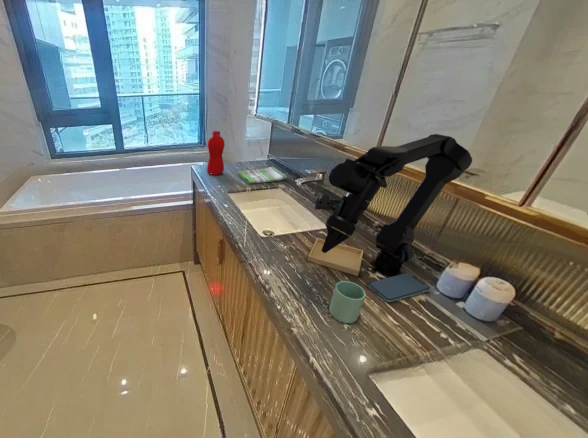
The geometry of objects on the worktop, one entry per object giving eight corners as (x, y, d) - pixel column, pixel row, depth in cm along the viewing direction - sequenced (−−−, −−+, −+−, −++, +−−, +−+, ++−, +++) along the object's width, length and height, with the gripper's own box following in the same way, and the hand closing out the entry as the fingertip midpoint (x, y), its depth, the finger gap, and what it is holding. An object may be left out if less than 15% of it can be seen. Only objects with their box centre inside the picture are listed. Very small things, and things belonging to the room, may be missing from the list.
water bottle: (225, 170, 176) (227, 129, 164) (220, 176, 167) (221, 133, 155) (211, 169, 179) (212, 128, 167) (205, 174, 170) (205, 132, 158)
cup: (358, 309, 76) (366, 286, 72) (355, 327, 71) (364, 303, 67) (331, 300, 79) (338, 277, 75) (326, 316, 74) (333, 293, 70)
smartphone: (367, 282, 83) (407, 271, 86) (365, 286, 84) (406, 275, 87) (389, 300, 77) (431, 287, 80) (387, 304, 78) (429, 292, 81)
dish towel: (286, 180, 160) (287, 174, 158) (249, 184, 155) (249, 178, 153) (272, 171, 175) (272, 165, 173) (237, 174, 170) (237, 169, 168)
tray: (362, 254, 97) (363, 250, 96) (357, 276, 88) (359, 271, 87) (316, 242, 105) (317, 237, 104) (307, 260, 95) (308, 256, 94)
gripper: (331, 184, 82) (303, 229, 87) (323, 181, 66) (290, 238, 71) (369, 202, 78) (338, 249, 82) (372, 204, 62) (333, 262, 66)
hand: (325, 249), depth 76 cm, fingers open, 9 cm apart
